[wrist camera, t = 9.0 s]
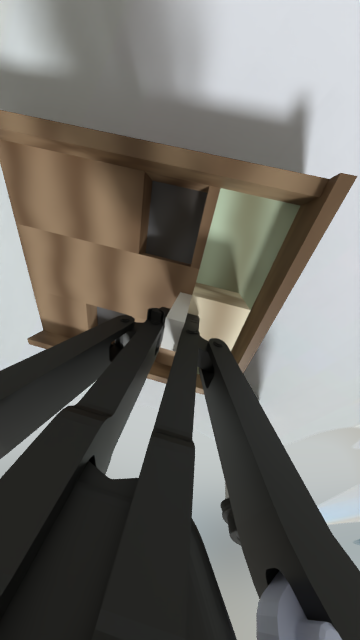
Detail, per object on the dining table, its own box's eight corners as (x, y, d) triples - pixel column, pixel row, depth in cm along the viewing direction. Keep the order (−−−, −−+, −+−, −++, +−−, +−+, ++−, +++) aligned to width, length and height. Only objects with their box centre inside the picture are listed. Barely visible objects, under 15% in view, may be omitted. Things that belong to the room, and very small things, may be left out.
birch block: (186, 320, 19) (179, 342, 15) (195, 282, 17) (192, 295, 13) (223, 330, 19) (228, 355, 15) (239, 293, 17) (250, 310, 12)
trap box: (58, 327, 27) (21, 348, 22) (19, 139, 16) (-73, 86, 11) (220, 373, 26) (223, 407, 20) (302, 201, 15) (357, 176, 9)
